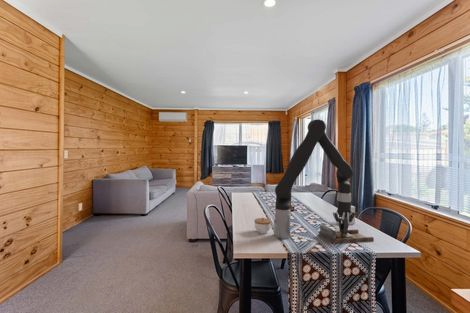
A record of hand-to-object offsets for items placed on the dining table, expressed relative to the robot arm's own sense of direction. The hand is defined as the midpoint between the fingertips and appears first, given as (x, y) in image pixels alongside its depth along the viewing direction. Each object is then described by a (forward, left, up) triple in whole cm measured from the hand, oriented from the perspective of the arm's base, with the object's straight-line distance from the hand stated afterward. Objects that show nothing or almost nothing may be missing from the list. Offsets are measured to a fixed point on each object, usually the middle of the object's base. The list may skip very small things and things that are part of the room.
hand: (343, 229), depth 140 cm
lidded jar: (-44, +20, -7) cm, 49 cm away
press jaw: (0, 0, -5) cm, 5 cm away
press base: (+1, 0, -7) cm, 7 cm away
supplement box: (+24, +31, -7) cm, 40 cm away
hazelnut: (-4, 0, -5) cm, 6 cm away
